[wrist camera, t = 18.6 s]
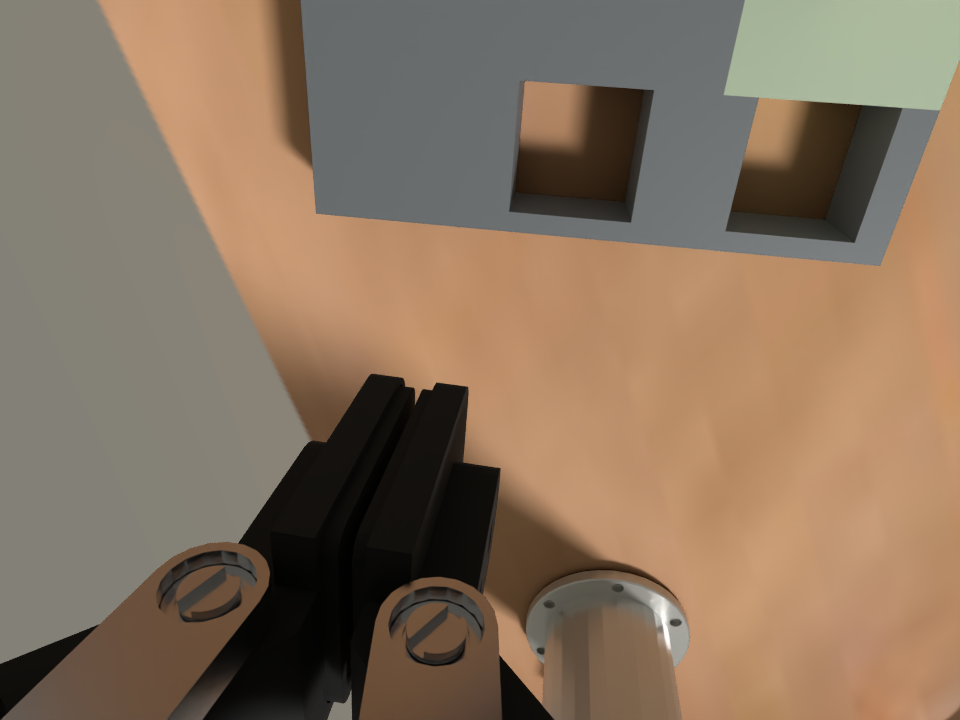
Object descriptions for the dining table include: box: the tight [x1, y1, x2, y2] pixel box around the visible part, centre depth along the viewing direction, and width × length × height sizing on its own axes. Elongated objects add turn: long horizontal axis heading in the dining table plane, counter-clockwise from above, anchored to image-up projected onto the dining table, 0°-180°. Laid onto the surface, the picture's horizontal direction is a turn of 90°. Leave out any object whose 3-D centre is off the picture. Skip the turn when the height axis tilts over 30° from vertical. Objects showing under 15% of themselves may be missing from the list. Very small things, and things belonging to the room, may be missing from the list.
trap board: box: [301, 0, 960, 266], centre depth 29 cm, size 15×28×4 cm, turn 87°
